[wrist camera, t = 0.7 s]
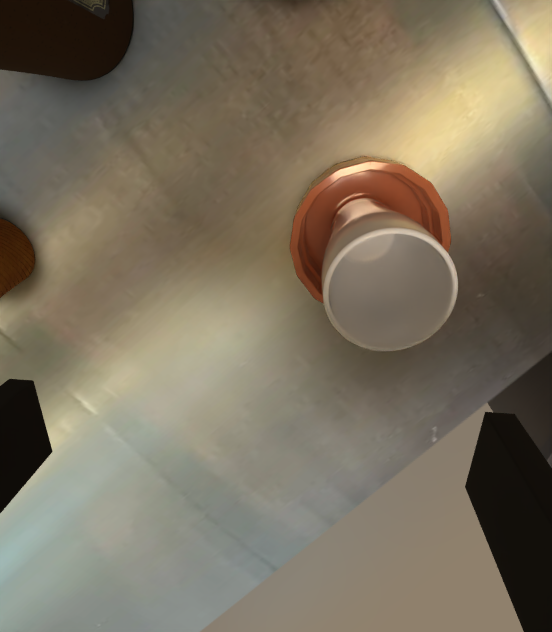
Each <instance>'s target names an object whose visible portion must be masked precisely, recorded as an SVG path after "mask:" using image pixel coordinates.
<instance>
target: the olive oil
mask: <svg viewBox="0 0 552 632" xmlns="http://www.w3.org/2000/svg"><path fill="white" fill-rule="evenodd" d="M132 25H133V9H132V1H131V0H0V69H1V70H9V71H17V72H25V73H32V74H39V75H45V76H52V77H58V78H64V79H70V80H91V79H95V78H98V77H101V76H103V75H105V74H106V73H108V72H109V71H111V70H112V69H113V68H114V67H115V66H116V65H117V64H118V63H119V61H120V60H121V58H122V57H123V55H124V53H125V51H126V49H127V47H128V44H129V41H130V37H131V32H132Z"/></svg>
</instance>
